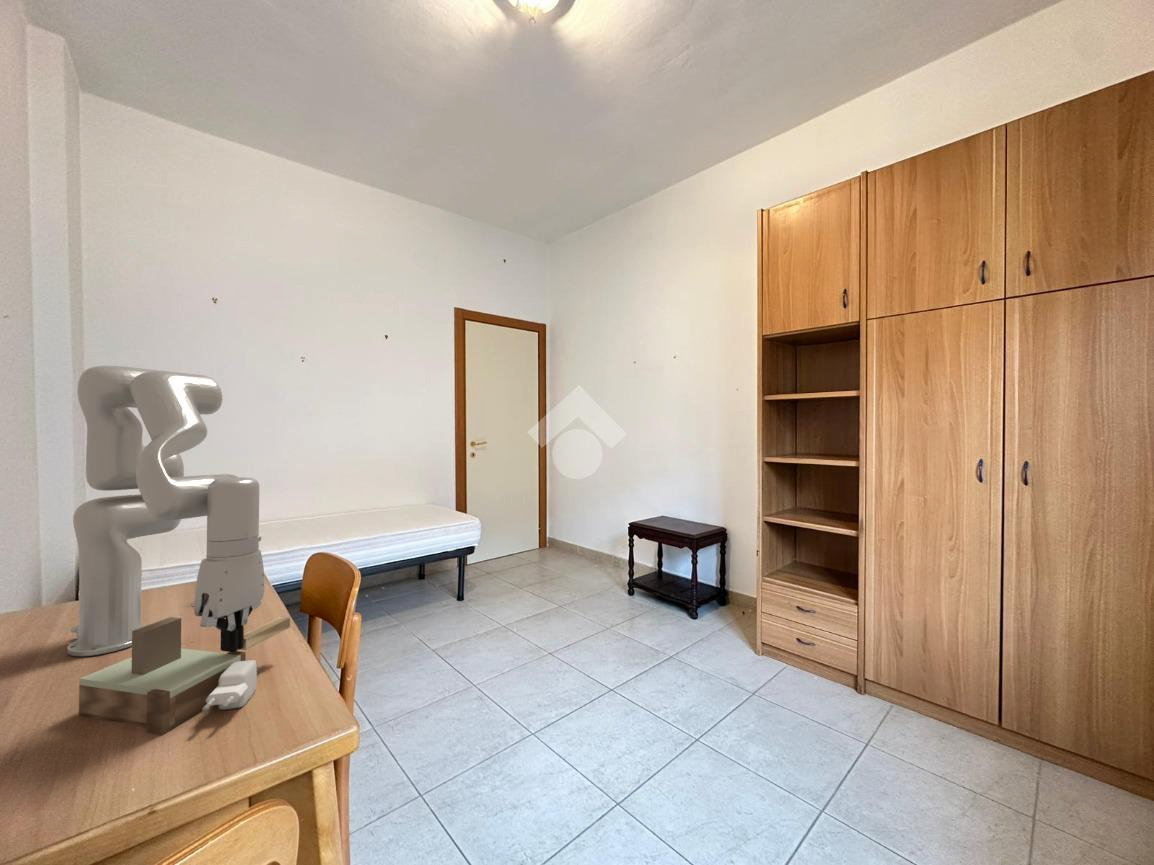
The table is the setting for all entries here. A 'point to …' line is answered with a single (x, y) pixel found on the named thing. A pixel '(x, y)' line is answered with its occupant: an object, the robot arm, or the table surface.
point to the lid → (160, 663)
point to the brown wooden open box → (148, 704)
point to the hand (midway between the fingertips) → (231, 649)
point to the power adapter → (234, 686)
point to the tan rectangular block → (265, 632)
